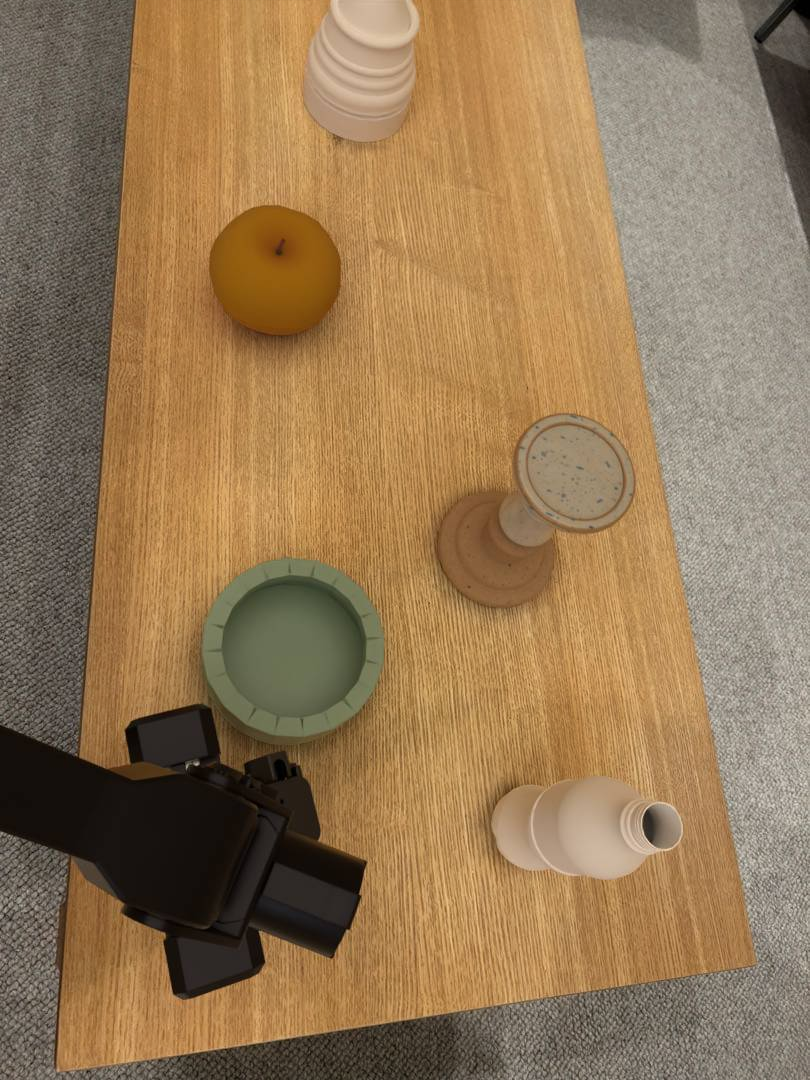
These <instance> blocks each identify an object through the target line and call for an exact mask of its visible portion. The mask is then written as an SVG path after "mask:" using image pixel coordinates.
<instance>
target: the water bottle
mask: <svg viewBox="0 0 810 1080" xmlns="http://www.w3.org/2000/svg"><path fill="white" fill-rule="evenodd" d="M493 809H494V810H493V812H492V815H491V816H492V817H491V822H490V825H491V830H492V833H493V835H494V838H495V841H496V843H495V844H496V847H497V851H499V853H500V854H501V856H502V857H503V858H504V859H505V860H507V862H509V863H510V864H512V865H513V866H515V867H517V868H519V869H522V870H526V871H528V872H529V871H530V872H542V871H547V870H549V869H550V870H551V871H554V872H556V873H557V874H561V875H565V876H570V877H580V876H581V877H582V876H583V877H588V878H593V879H596V880H604V881H610V880H616V879H620V878H624V877H625V876H628V875H629V874H632V873H633V872H635V871H636V870H637V869H639V867H640V866H641V865H643V863H644V862H645V861H646V860H647V858H648V856H652V855H654V854H657V853H659V852H668V851H670V850H673V849H674V848H676V847H677V846H678V845H679V844H680V842H681V840H682V838H683V835H684V834H683V833H684V832H683V830H684V824H683V821H682V818H681V815H680V814H679V812H678V811H677V809H676V808H675V807H674V806H673V805H672V804H670V803H668V802H663V801H661V800H660V801H658V800H653V799H651V798H647V797H643V796H642V795H641V794H640V793H639V792H638V791H637V790H636V789H634V788H633V787H632V786H631V785H629V784H628V783H627V782H625V781H622V780H621V779H618V778H616V777H612V776H608V775H598V774H597V775H593V774H592V775H589V776H584V777H581V778H577V779H574V778H568V779H563V780H560V781H557V782H554V783H553V784H551V785H549V786H548V787H545V786H542V785H539V784H523V785H521V786H517V787H515V788H513V789H511V790H510V791H508V793H506V794H505V795H504V796H501V798H500V799H499V801H498V802H497V804H496V805H495V807H494V808H493Z"/></svg>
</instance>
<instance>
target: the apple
mask: <svg viewBox="0 0 810 1080" xmlns="http://www.w3.org/2000/svg"><path fill="white" fill-rule="evenodd" d="M208 264H209V265H208V271H209V278H210V281H211V286H212V290H213V293H214V295H215V297H216V299H217V301H218V303H219V304H220V307H222V309H223V311H224V312H225V313H226V315H228V316H229V317H230V318H231V319H232V320H233V321H234V322H237V323H238V324H240V325H242V326H243V327H246V328H247V329H250V330H253V331H257V332H259V333H263V334H267V335H272V336H290V335H293V334H297V333H301V332H305V331H307V330H308V329H311V328H313V327H315V326H317V325H318V324H320V322H322V320H323V319H324V318H325V317H326V315H327V314H328V313H329V312H330V311H331V310H332V308H333V306H334V304H335V303H336V301H337V299H338V297H339V295H340V290H341V283H342V281H341V280H342V279H341V278H342V277H341V276H342V259H341V256H340V252H339V250H338V248H337V245H336V243H335V242H334V240H333V239H332V236H331V235H330V234H329V232H328V231H327V230H326V229H325V228H324V227H323V225H322V224H321V223H320V222H319V221H318V220H317V219H315V218H313V217H311V216H310V215H308V214H307V213H305V212H304V211H303V212H302V211H299V210H295V209H293V208H289V207H286V206H283V205H278V204H263V205H262V204H261V205H257V206H254V207H251V208H248V209H247V210H244V211H243V212H242V213H240V214H239V215H237V216H236V217H234V218H233V219H232V220H231V221H229V222H228V224H227V225H226V226H225V227H224V228H223V230H222V231H220V232H219V234H218V236H217V237H216V238H215V240H214V241H213V244H212V247H211V249H210V251H209V263H208Z"/></svg>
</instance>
